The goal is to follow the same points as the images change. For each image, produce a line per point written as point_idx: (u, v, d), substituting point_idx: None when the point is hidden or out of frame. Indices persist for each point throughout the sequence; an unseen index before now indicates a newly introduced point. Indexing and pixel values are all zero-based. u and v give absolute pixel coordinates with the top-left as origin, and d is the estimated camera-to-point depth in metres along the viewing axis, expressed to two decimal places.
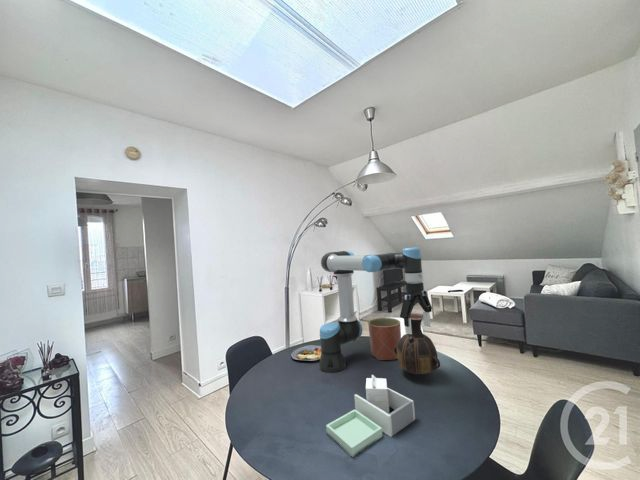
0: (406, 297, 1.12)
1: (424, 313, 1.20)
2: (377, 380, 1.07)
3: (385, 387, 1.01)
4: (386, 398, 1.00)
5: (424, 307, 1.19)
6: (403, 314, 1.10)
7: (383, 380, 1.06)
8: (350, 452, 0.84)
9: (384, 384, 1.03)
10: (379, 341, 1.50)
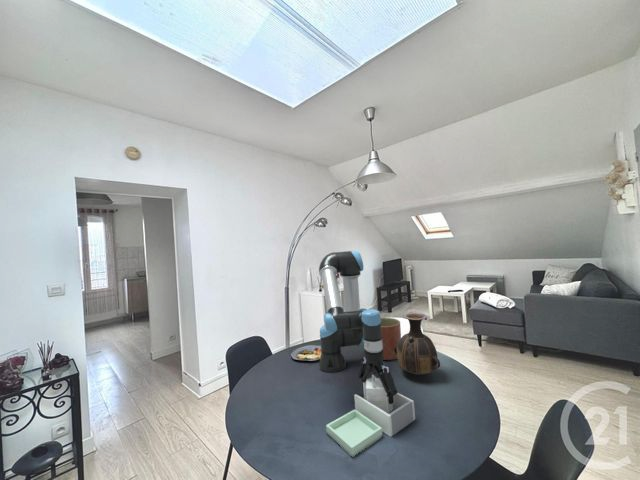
0: None
1: None
2: (377, 380, 1.07)
3: None
4: None
5: None
6: None
7: None
8: (350, 452, 0.84)
9: None
10: None
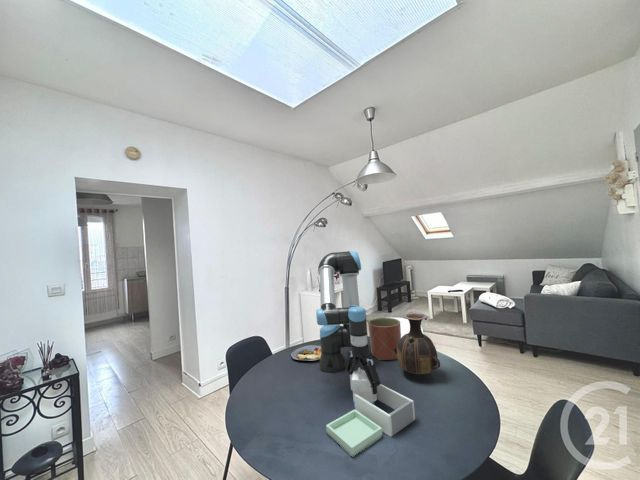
0: None
1: None
2: (363, 372, 1.14)
3: None
4: None
5: None
6: None
7: None
8: (350, 452, 0.84)
9: None
10: (379, 341, 1.50)
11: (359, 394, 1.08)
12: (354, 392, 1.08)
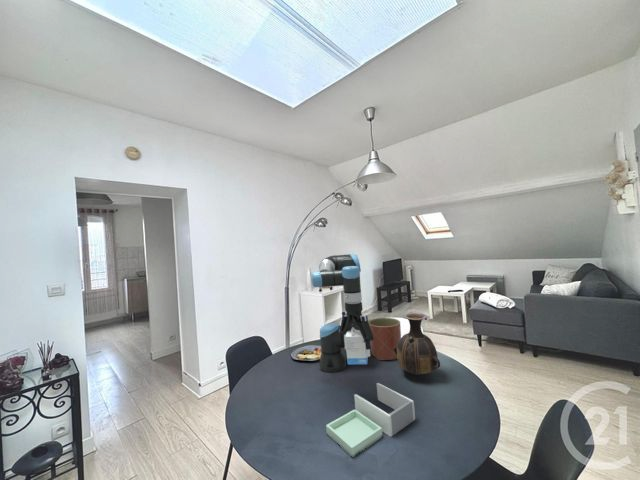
0: None
1: None
2: (357, 331, 1.14)
3: None
4: None
5: None
6: None
7: None
8: (350, 452, 0.84)
9: None
10: (379, 341, 1.50)
11: (352, 350, 1.08)
12: (348, 349, 1.09)
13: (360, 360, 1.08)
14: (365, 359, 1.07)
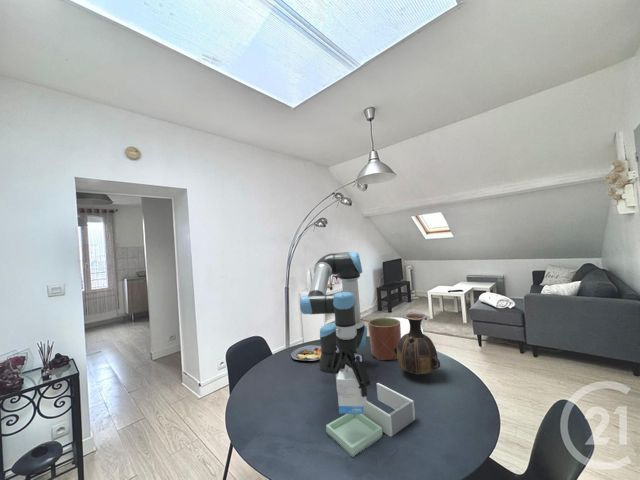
0: None
1: None
2: (351, 371, 0.95)
3: None
4: None
5: None
6: None
7: None
8: (350, 452, 0.84)
9: None
10: (379, 341, 1.50)
11: (345, 397, 0.89)
12: (339, 394, 0.90)
13: (354, 409, 0.88)
14: (360, 408, 0.88)
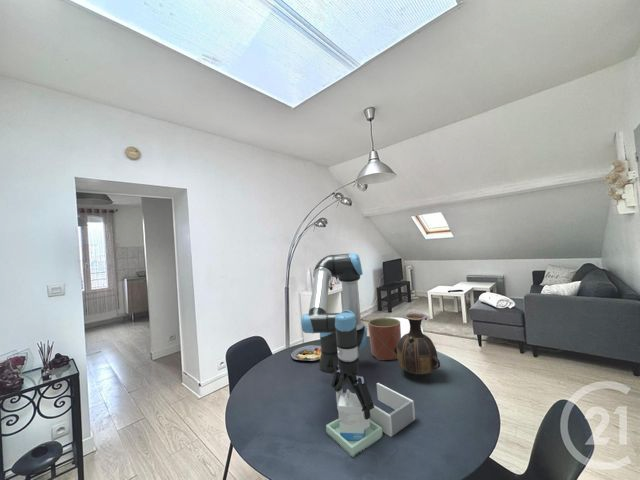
0: None
1: None
2: (352, 396, 0.95)
3: (360, 404, 0.90)
4: (361, 417, 0.89)
5: None
6: None
7: None
8: (350, 452, 0.84)
9: (359, 401, 0.92)
10: (379, 341, 1.50)
11: (347, 423, 0.89)
12: (341, 421, 0.90)
13: (356, 436, 0.89)
14: (362, 435, 0.88)
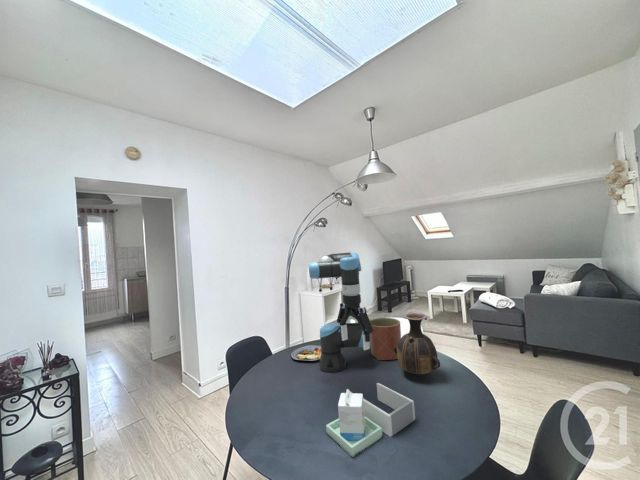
0: None
1: None
2: (352, 396, 0.95)
3: (360, 404, 0.90)
4: (361, 417, 0.89)
5: None
6: None
7: (359, 395, 0.95)
8: (350, 452, 0.84)
9: (359, 401, 0.92)
10: (379, 341, 1.50)
11: (347, 423, 0.89)
12: (341, 421, 0.90)
13: (356, 436, 0.89)
14: (362, 435, 0.88)
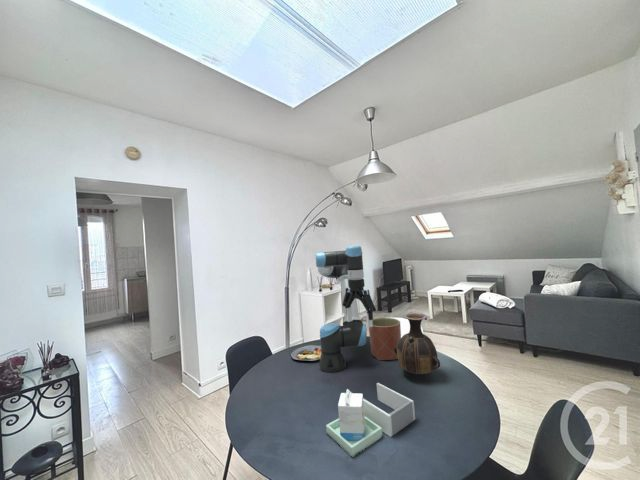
0: None
1: None
2: (352, 396, 0.95)
3: (360, 404, 0.90)
4: (361, 417, 0.89)
5: None
6: None
7: (359, 395, 0.95)
8: (350, 452, 0.84)
9: (359, 401, 0.92)
10: (379, 341, 1.50)
11: (347, 423, 0.89)
12: (341, 421, 0.90)
13: (356, 436, 0.89)
14: (362, 435, 0.88)
